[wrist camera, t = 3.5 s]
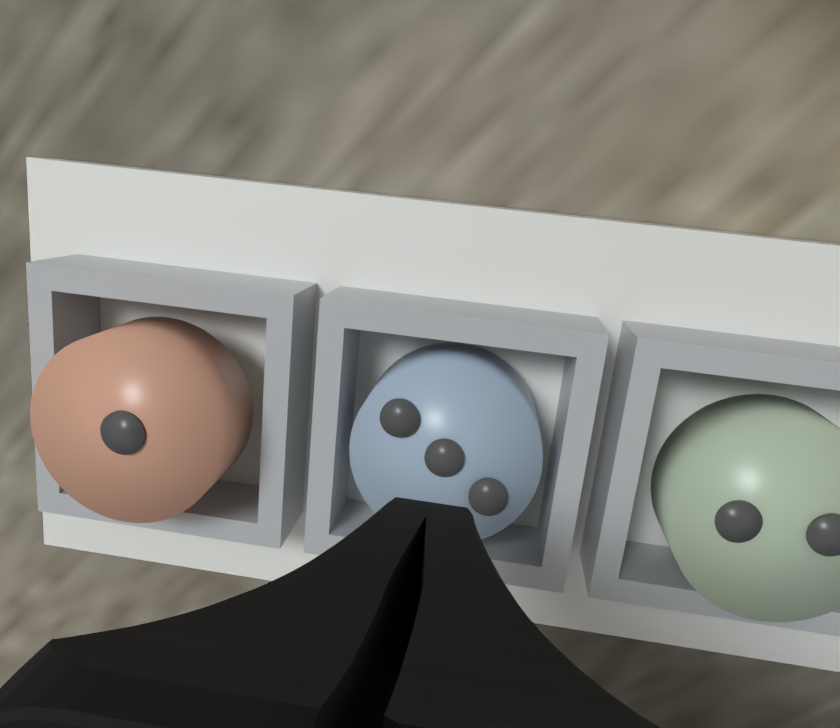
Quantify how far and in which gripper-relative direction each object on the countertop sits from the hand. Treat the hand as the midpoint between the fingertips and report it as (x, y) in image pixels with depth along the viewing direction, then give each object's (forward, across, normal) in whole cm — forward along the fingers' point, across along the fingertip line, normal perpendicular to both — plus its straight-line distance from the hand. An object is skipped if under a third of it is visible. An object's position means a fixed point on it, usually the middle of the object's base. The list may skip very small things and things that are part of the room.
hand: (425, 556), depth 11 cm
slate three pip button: (+6, 0, 0) cm, 6 cm away
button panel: (+8, 0, 0) cm, 8 cm away
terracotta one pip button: (+5, +7, 0) cm, 9 cm away
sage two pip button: (+5, -7, 0) cm, 9 cm away
